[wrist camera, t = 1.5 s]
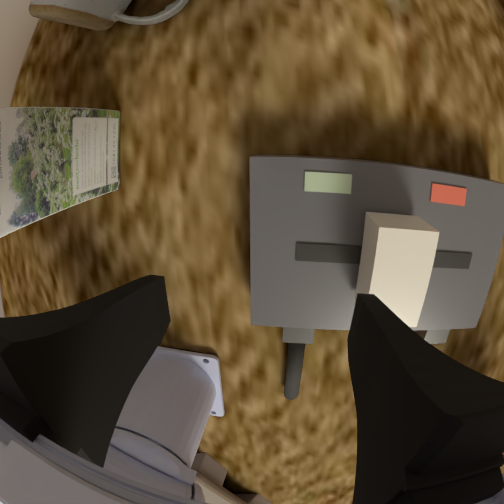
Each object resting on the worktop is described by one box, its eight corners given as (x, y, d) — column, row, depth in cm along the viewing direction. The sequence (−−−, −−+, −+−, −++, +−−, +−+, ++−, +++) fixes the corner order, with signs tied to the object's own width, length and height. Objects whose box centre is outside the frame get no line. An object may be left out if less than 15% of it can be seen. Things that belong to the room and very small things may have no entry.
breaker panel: (256, 389, 24) (251, 411, 21) (256, 154, 17) (249, 156, 14) (428, 389, 21) (435, 410, 19) (490, 179, 14) (511, 186, 12)
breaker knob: (354, 298, 16) (362, 326, 13) (365, 211, 14) (379, 227, 12) (402, 299, 16) (416, 326, 13) (418, 216, 14) (439, 232, 11)
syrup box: (65, 118, 18) (-102, 144, 4) (125, 109, 17) (-79, 117, 3) (66, 189, 20) (-89, 256, 6) (124, 190, 19) (-62, 276, 6)
